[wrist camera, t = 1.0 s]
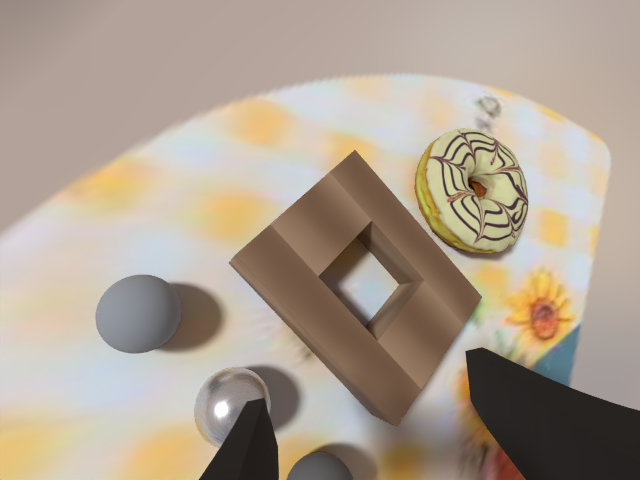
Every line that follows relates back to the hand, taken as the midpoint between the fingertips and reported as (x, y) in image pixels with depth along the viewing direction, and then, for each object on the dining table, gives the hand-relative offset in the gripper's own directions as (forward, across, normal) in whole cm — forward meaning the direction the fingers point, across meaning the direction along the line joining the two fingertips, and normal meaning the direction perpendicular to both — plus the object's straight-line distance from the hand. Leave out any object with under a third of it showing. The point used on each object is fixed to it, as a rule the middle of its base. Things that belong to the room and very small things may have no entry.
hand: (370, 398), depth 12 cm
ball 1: (+7, +10, -2) cm, 13 cm away
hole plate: (+13, -2, +1) cm, 14 cm away
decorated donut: (+20, -13, -2) cm, 24 cm away
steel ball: (+6, +7, +4) cm, 10 cm away
